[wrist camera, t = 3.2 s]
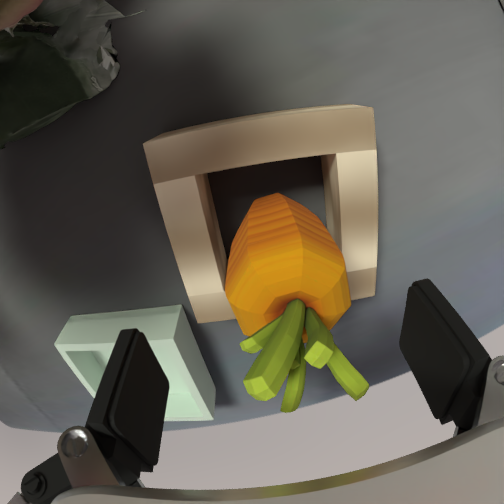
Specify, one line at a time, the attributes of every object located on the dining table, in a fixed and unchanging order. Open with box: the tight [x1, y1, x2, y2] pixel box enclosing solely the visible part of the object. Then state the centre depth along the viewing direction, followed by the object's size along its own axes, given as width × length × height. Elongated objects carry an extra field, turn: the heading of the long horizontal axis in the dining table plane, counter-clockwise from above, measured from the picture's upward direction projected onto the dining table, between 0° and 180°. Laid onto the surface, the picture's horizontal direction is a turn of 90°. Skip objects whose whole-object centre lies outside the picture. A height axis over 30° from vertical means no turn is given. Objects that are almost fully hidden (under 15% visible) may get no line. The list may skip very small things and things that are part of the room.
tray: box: [54, 304, 216, 421], centre depth 26 cm, size 12×12×4 cm
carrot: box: [225, 193, 369, 413], centre depth 14 cm, size 5×5×15 cm
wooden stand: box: [143, 104, 378, 323], centre depth 19 cm, size 12×12×4 cm
